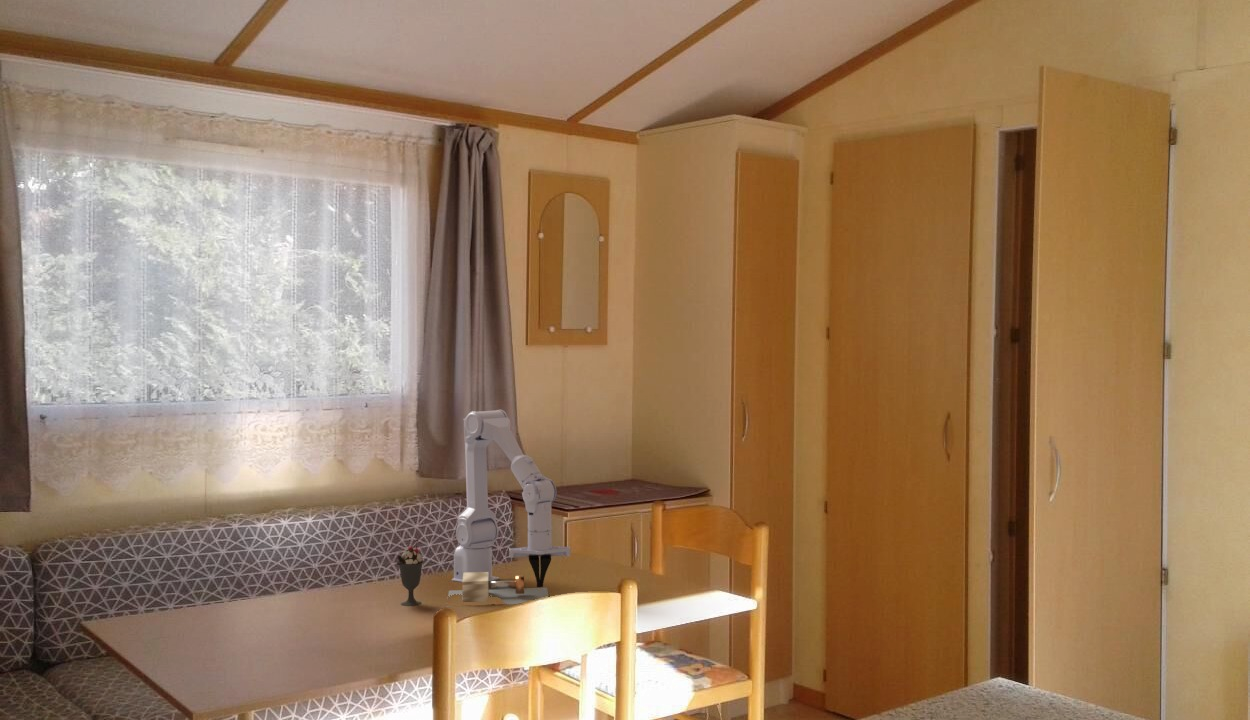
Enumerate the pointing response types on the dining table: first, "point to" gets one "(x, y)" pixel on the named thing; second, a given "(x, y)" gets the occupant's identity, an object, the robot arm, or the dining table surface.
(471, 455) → the robot arm
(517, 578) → the pin
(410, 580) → the sundae
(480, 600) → the hitch block
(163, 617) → the dining table surface
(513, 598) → the mat
